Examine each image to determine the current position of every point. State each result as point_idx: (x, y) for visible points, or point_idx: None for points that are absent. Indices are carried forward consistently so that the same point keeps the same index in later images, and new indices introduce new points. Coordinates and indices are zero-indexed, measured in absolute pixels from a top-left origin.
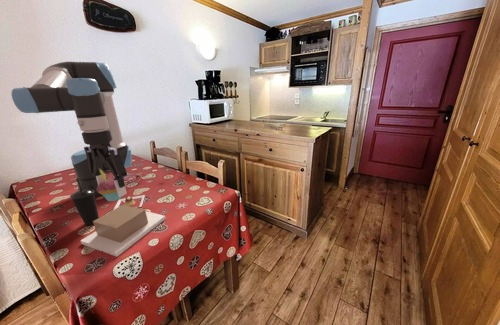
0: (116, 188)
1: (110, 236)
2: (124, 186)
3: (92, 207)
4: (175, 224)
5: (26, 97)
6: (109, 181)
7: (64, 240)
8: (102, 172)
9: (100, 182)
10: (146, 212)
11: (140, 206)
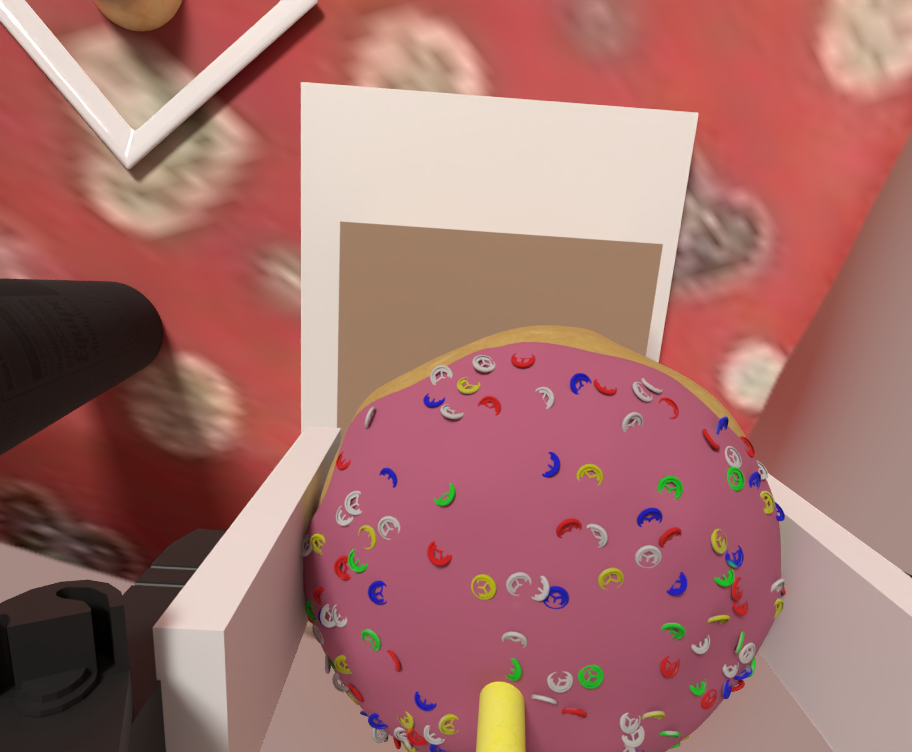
0: (771, 655)
1: None
2: (819, 523)
3: (78, 358)
4: (810, 167)
5: None
6: (606, 700)
7: (161, 520)
8: None
9: (289, 643)
10: (486, 112)
11: (307, 5)
